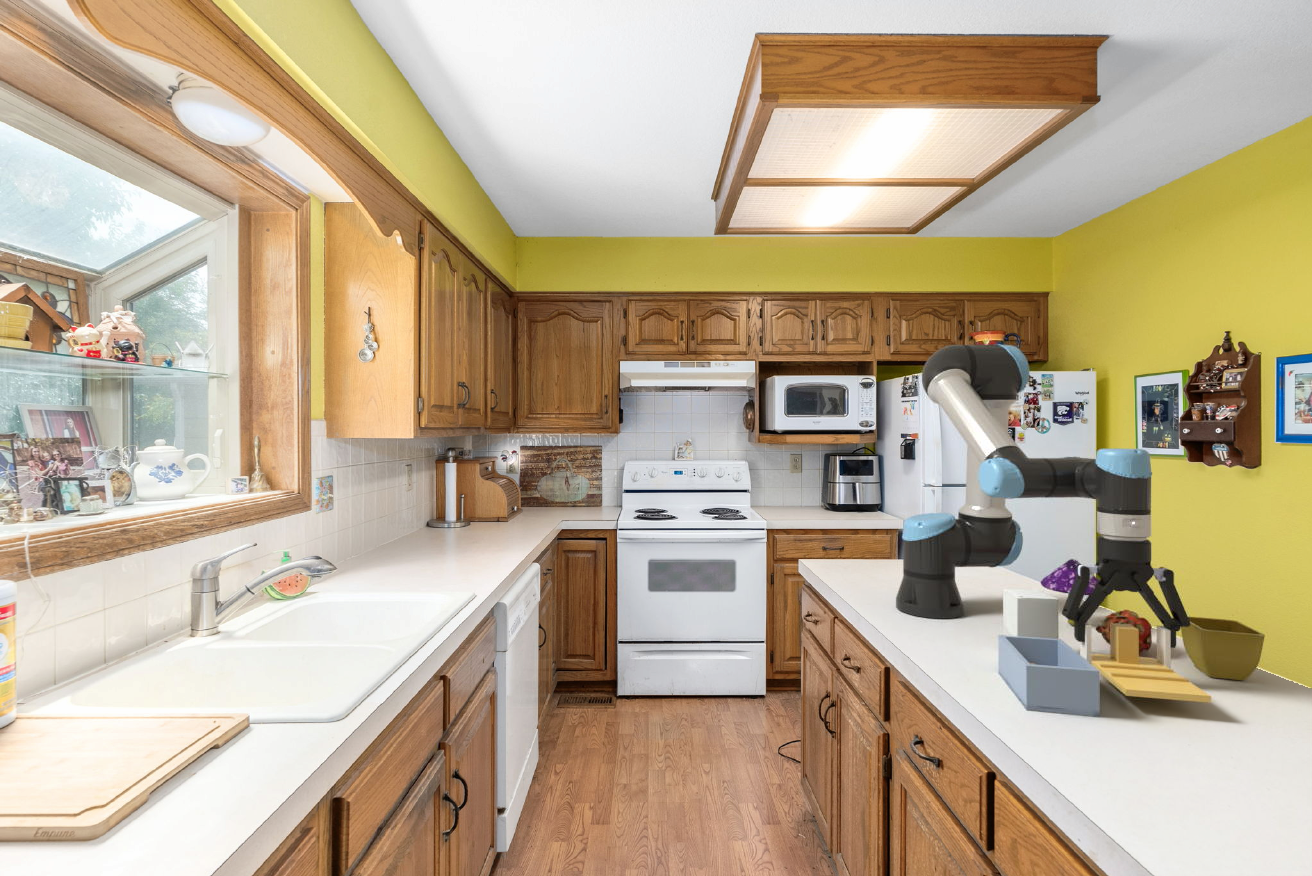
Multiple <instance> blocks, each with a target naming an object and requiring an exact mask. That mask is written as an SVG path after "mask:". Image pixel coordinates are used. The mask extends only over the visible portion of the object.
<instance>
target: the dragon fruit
mask: <svg viewBox="0 0 1312 876" xmlns="http://www.w3.org/2000/svg"><path fill="white" fill-rule="evenodd" d="M1100 622H1101V623H1100V624H1098V625H1096V626H1095V630H1096V632H1097V633H1098V634H1101V636H1102V638H1103V640H1104V641H1105V643H1107V644H1108V645H1109V646H1110V623H1117V624H1130V625H1132V626H1134V627H1135V628H1137V629H1138V630H1139V651H1140V652H1144V651H1145V652H1148V651H1149V650H1150V649H1151V646H1152V641H1153V639H1152V638H1153V637H1152V636H1153V635H1152V627H1153V626H1152V625H1151V623H1150V621H1148V619H1146V618H1145V617H1141V616H1139V614H1138V613H1137V612H1135V611H1132V610H1129V609H1123V610H1117V611H1115V612H1112V613H1111V612H1110V614H1108V615H1106V616H1105V618H1104V619H1103V620H1102V621H1100Z"/></svg>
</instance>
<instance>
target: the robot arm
mask: <svg viewBox="0 0 1312 876" xmlns="http://www.w3.org/2000/svg"><path fill="white" fill-rule="evenodd" d="M1029 380H1030V366H1029V362H1028V360H1027V358H1026V355H1025V354H1024V353H1023V352H1022V350H1021V349H1020V348H1018V347H1017V346H1014V345H1009V344H1000V343H994V344H951V345H946V346H943V347H941V348H939V349H937V350H936V351H935V352H934V353H932V354H931V355H930V356H929V357H928V359H927V360H926V362H925V364H924V365H923V368H922V372H921V384H922V386H923V387H922V388H923V390H924V392H925V393H926V395H927V396H928V398H929V399H930V400H931V402H932V403H934V404H937V405H939V406H940V407H941V408H942V410H943V412H944V413H945V414H946V416H947V417H948V418H949V420H950V421H951V423H952V424H953V426H954V427H955V428H956V431H958V434H960V436H961V438H963V440H964V442H965V443H966V445H967V449H966V450H967V452H966V476H965V477H966V480H965V481H966V482H965V503H964V505H962V506H961V507H960V508H959V509H958V516H957V517H958V518H956V517H955V515H953V514H952V513H948V512H947V513H946V512H935V513H934V512H931V513H927V512H926V513H921V514H920V513H919V514H915V515H912V516H909V517H907V518H906V519H905V520H904V522H903V528H902V535H901V538H902V562H903V567H902V568H903V569H902V570H903V571H902V572H903V573H902V575H903V576H902V580H901V582H900V585H899V587H898V590H897V594H896V597H895V608H896V609H897V610H898V611H901V612H902V613H905V614H908V615H911V616H916V617H921V618H928V619H955V618H958V617H961V616H963V615H964V603H963V600H962V597H961V594H960V592H959V588H958V586H957V583H956V568H982V567H984V568H985V567H988V568H997V567H1006V566H1009V565H1012V564H1013V563H1014V562H1015V561H1016V560H1017V559H1018V558H1019V557H1020V554H1021V553H1022V549H1023V545H1024V535H1023V532H1022V531H1021V529H1022V528H1021V526H1020V524H1019V523H1018V522H1017V521H1016V520H1015V519H1013V513H1012V512H1011V511H1010V510H1009V509H1008V508H1007V506H1006V500H1010V499H1011V500H1012V499H1037V498H1039V499H1040V498H1042V499H1043V498H1044V499H1045V498H1049V499H1052V498H1059V499H1060V498H1084V499H1092V500H1096V505H1097V507H1096V533H1098V534H1099V535H1100V536H1098V537H1097V538H1096V557H1097V560H1096V563H1095V565H1084V564H1082V563H1080V564H1078V565H1077V566H1076V578H1075V581H1074V583H1073V586H1072V588H1071V591H1070V593H1069V595H1068V594H1067V598H1066V600H1065V603H1064V605H1063V608H1062V610H1061V615H1062V616H1063V617H1065V618H1066V619H1067V620H1068V619H1069V620H1072V621H1074V626H1073V627H1074V629H1073V630H1074V631H1073V632H1074V633H1073V634H1074V635H1073V637H1074V640H1076V641H1077V642H1079V648H1080V649H1079V655H1081V656H1082V657H1083V658H1084V659H1085V660H1087V661H1088V662H1089V663H1091V661H1092V654H1093V653H1092V652H1093V651H1092V646H1093V642H1092V641H1093V640H1092V624H1090V623H1088V621H1089V620H1090V619H1091V617H1092V616H1093V615H1094V614H1095V612H1096V611H1097V610H1098V608H1099V607H1100V606H1101V605H1102V603H1103V602H1104V601H1105V599H1106V598H1107V597H1108V596H1109V595H1111V594H1112V593H1113V592H1114V591H1115V592H1125V591H1127V592H1131V593H1139V595H1140V596H1141V598H1142V599H1143V600H1144V601H1145V603H1146V604H1147V605H1148V607H1149V608H1150V610H1151V611H1152V612H1153V613H1154V615H1155V616H1156V617H1157V619H1158V620H1159V621H1160V623H1161V624H1162V625H1156V660H1157V661H1159V662H1160V663H1162V664H1163V665H1165V666H1166V667H1168V668H1169V669H1172V667H1171V666H1172V665H1171V657H1172V655H1171V654H1172V653H1171V649H1175V648H1176V646H1177V632H1179V631H1181V627H1188V626H1190V621H1189V618H1188V617H1189V615H1188V614H1187V612H1186V610H1185V606H1184V605H1183V601H1182V600H1181V596H1180V595H1179V593H1178V590H1177V587H1176V585H1175V573H1174V571H1173V570H1172V569H1169V568H1166V567H1164V566H1160V567H1158V568H1153V567H1152V563H1151V562H1152V542H1151V540H1149V539H1148V538H1150V537H1152V510H1151V509H1152V476H1153V472H1152V465H1151V455H1150V453H1149V451H1148V450H1146V449H1143V448H1100V449H1099V450H1097V452H1096V456H1095V457H1096V458H1088V457H1080V456H1065V457H1063V456H1062V457H1050V458H1049V457H1048V458H1047V457H1046V458H1045V457H1041V458H1040V457H1039V458H1038V457H1028V456H1027V455H1026V453H1025V452H1023V450H1022V449H1021V448H1020V447H1019V445H1018V444H1017V442H1015V440H1014V439H1013V438H1012V436H1011V435H1010V433H1009V417H1010V416H1009V412H1010V411H1009V410H1010V407H1011V406H1012V405H1013V404H1014V403H1016V402H1017V394H1019V393H1021V392H1023V391H1024V390H1026V388H1027V384H1028V383H1029ZM1094 574H1097V576H1098V577H1099V579H1098V580H1099V581H1098V582H1097V583H1096V585H1095V588H1094V590H1093V591H1092V592H1091V593H1090V595H1087V597H1086V599H1085V600H1084V601H1083V599H1084V596H1085V595H1084V594H1085V592H1086V589H1087V587H1088V584H1089V580H1090V578H1092V577H1093V575H1094ZM1094 576H1095V575H1094ZM1152 577H1154V579H1155V580H1157V581H1158V585H1159V587H1160V589H1161V592H1162V594H1163V596H1164V597H1163V598H1164V599H1165V602H1166V604H1167V606H1168V609H1169V612H1170V613H1169V612H1168V611H1167V609H1166V608H1165V606H1164V605H1163V604H1162V603H1161V601H1160V600H1159V599H1158V597H1157V596H1156V594H1155V592H1154V590H1153V588H1152V587H1150V585H1149V584H1148V582H1149V581H1150V580H1151V579H1152ZM1082 601H1083V602H1082Z"/></svg>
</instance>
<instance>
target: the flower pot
mask: <svg viewBox="0 0 1312 876" xmlns="http://www.w3.org/2000/svg"><path fill="white" fill-rule="evenodd" d="M1188 618H1189V621H1190V626H1188V627H1180V631H1181V638H1182V643H1183V647H1184V649H1185V652H1186V654H1187V655H1188V658H1189V659H1190V661H1191V662H1192V664H1193V665H1194V667H1195V668H1196V669H1198V670H1199V671H1201V672H1202V673H1204V675H1206V676H1208V677H1210V678H1216V679H1217V678H1219V679H1226V680H1227V679H1228V680H1233V681H1234V680H1235V681H1245V680H1247V678H1249V677H1250V676H1251V675H1252V674H1253V673H1254V672H1255V671H1256V669H1257V668H1258V665H1259V663H1260V660H1261V656H1262V651H1263V648H1264V647H1263V646H1264V641H1265V636H1266V635H1265V634H1263V632H1260V631H1258V630H1256V629H1254V628H1252V627H1250V626H1248V625H1246V624H1244V623H1242V622H1240V621H1238V620H1234V619H1222V618H1211V617H1199V616H1198V617H1197V616H1188Z"/></svg>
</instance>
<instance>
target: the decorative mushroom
mask: <svg viewBox="0 0 1312 876" xmlns="http://www.w3.org/2000/svg"><path fill="white" fill-rule="evenodd" d="M1078 564H1081V563H1080V561H1078V560H1077V559H1075V558H1074V559H1073V558H1070V559H1068V560H1067V561H1065V562H1064V563H1063V564H1061V565H1060V566H1059V567H1057V568H1055V569H1054V570H1053V571H1052V572H1051V573H1050V574H1048V575H1046V576H1044V577H1043V579H1042V580H1041V581H1040V584H1041V586H1042V587H1043V588H1045V589H1047V590H1051V591H1053V592H1058V593H1063V594H1067V596H1068V595H1069V593H1070V591H1071V588H1072V586H1073V583H1074V581H1075V578H1076V566H1077V565H1078ZM1099 580H1100V579H1098V578H1097V577H1096V576H1095V575H1093V577H1092V578H1090V580H1089V584H1088V587H1087V589H1086V592H1085V594H1084V596H1089V595H1090V593H1091V592H1092V591H1093V590H1094V588H1095V585H1096V583H1097V582H1098V581H1099ZM1067 623H1068V624H1069V625H1070V626H1073V627H1074V621H1072V620H1069V619H1067Z"/></svg>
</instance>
